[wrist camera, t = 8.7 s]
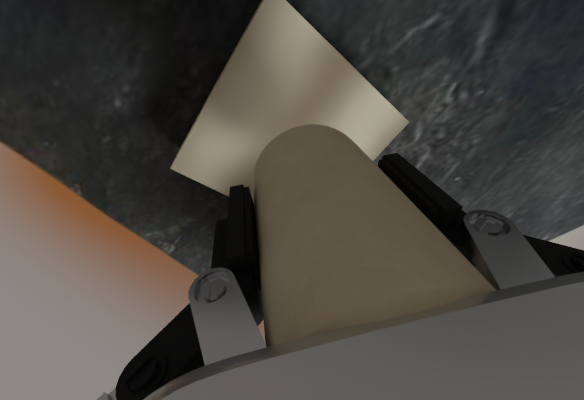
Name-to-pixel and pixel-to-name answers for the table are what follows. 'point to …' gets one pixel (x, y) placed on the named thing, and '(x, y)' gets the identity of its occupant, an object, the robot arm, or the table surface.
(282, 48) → the plinth
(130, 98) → the table surface
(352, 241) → the candle
